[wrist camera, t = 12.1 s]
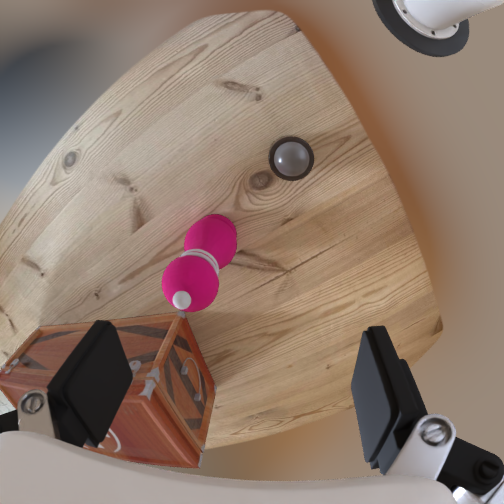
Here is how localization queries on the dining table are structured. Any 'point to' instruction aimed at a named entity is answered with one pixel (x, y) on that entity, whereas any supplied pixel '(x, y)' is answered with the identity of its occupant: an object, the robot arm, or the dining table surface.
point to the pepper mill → (200, 264)
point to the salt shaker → (291, 158)
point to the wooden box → (133, 386)
